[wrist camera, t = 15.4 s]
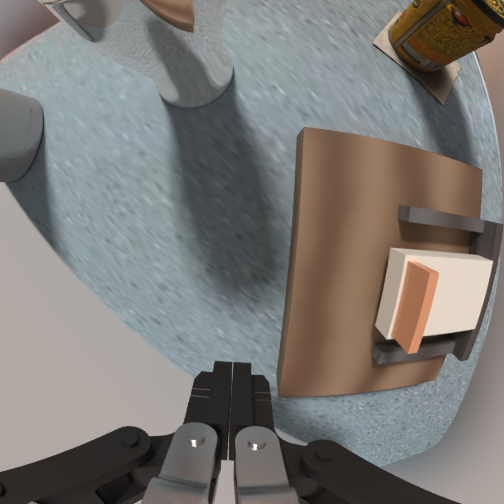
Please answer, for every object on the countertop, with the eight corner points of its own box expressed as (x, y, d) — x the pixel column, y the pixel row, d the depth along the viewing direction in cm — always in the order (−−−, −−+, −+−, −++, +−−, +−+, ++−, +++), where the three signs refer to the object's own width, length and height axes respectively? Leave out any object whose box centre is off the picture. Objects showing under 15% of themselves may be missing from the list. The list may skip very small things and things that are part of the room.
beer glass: (250, 47, 17) (242, -104, 2) (222, 122, 18) (152, -12, 4) (170, 37, 16) (94, -80, 2) (140, 106, 18) (3, 27, 3)
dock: (276, 375, 23) (280, 422, 17) (296, 136, 18) (313, 114, 12) (422, 364, 23) (449, 397, 17) (461, 170, 18) (505, 169, 12)
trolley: (369, 318, 18) (402, 359, 13) (382, 244, 17) (427, 265, 11) (453, 313, 18) (492, 342, 13) (468, 251, 17) (514, 269, 11)
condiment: (398, 11, 15) (455, -50, 3) (460, 66, 16) (534, 33, 4) (371, 43, 16) (438, -31, 4) (441, 106, 17) (535, 76, 5)
